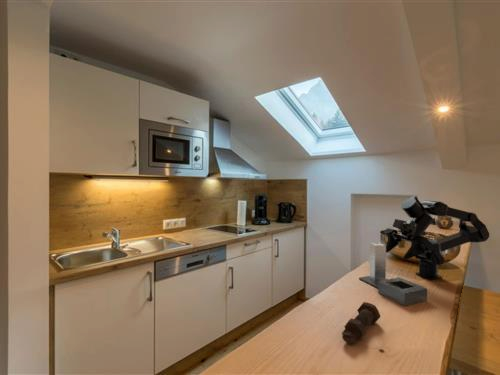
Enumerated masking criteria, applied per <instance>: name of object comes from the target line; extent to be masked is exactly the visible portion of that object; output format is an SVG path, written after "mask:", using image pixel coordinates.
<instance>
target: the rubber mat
mask: <svg viewBox="0 0 500 375" xmlns="http://www.w3.org/2000/svg"><path fill="white" fill-rule="evenodd" d="M387 279H388V278H386V280H387ZM358 280H359V281H362V282H364V283H365V284H367V285H370V286H371V287H374V288H376V289H378V283H375V282H373V281H372V280H371V279H370V275H367V276H360V277H359V278H358Z"/></svg>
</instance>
